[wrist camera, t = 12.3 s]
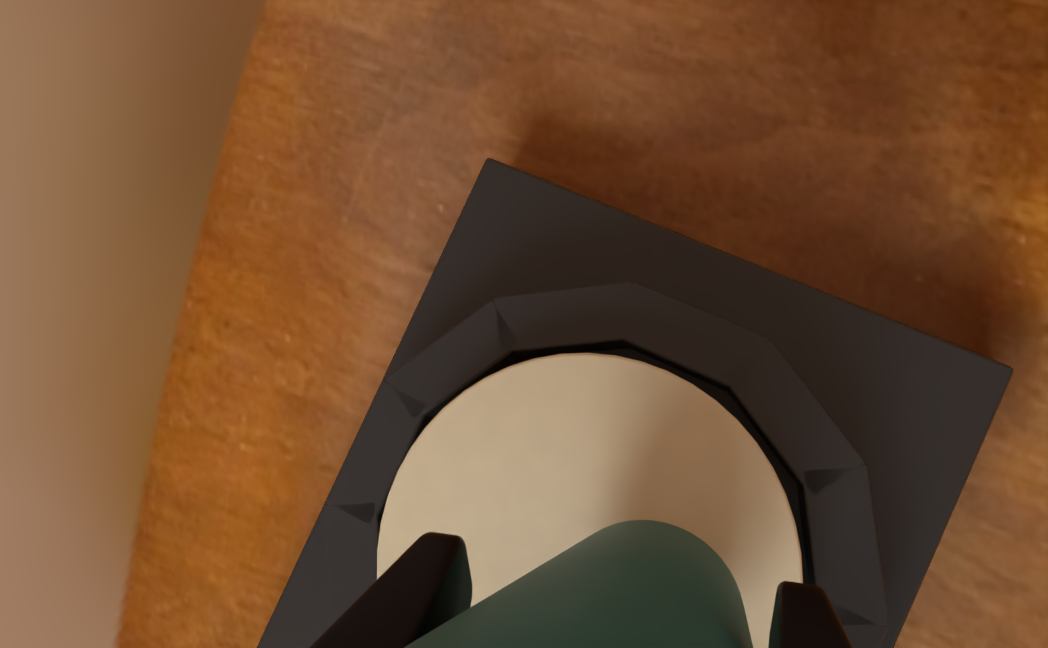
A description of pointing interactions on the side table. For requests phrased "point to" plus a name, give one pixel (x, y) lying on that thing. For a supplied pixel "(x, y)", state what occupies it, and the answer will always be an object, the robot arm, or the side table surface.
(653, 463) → the pad disc
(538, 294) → the button base
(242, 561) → the side table surface
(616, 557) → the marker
